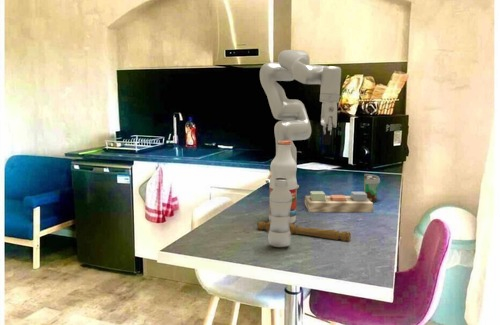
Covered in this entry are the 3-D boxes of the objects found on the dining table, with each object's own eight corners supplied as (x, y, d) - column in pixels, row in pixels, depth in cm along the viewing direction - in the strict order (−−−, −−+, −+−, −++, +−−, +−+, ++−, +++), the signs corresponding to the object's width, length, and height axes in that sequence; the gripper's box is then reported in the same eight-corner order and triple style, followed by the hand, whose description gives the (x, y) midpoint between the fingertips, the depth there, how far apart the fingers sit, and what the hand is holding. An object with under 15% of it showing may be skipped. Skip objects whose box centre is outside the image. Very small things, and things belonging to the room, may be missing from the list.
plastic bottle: (266, 242, 135) (267, 176, 132) (289, 242, 136) (290, 176, 133) (269, 250, 129) (270, 181, 126) (292, 249, 130) (294, 181, 126)
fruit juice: (272, 216, 164) (274, 139, 160) (298, 218, 161) (300, 140, 157) (265, 223, 155) (267, 141, 151) (292, 226, 152) (295, 143, 148)
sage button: (311, 203, 173) (312, 194, 173) (310, 199, 178) (310, 191, 178) (324, 203, 173) (325, 194, 173) (322, 200, 178) (323, 191, 178)
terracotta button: (332, 206, 174) (333, 197, 173) (330, 203, 178) (330, 194, 178) (345, 206, 174) (346, 198, 173) (342, 203, 179) (343, 195, 178)
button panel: (309, 212, 170) (309, 202, 170) (304, 204, 182) (305, 195, 181) (372, 212, 170) (373, 203, 170) (364, 204, 182) (364, 196, 182)
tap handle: (349, 233, 136) (256, 221, 147) (348, 243, 137) (255, 230, 148) (351, 230, 139) (259, 219, 150) (350, 240, 139) (259, 228, 151)
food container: (380, 204, 183) (381, 179, 182) (364, 203, 185) (365, 179, 183) (378, 197, 195) (379, 174, 194) (363, 196, 197) (364, 173, 195)
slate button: (353, 203, 173) (354, 194, 173) (350, 200, 178) (351, 191, 178) (366, 203, 174) (367, 194, 173) (363, 200, 178) (363, 191, 178)
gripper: (342, 99, 171) (339, 147, 175) (335, 97, 186) (332, 141, 190) (323, 99, 171) (319, 147, 175) (317, 96, 186) (314, 141, 190)
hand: (326, 144), depth 182 cm, fingers closed
